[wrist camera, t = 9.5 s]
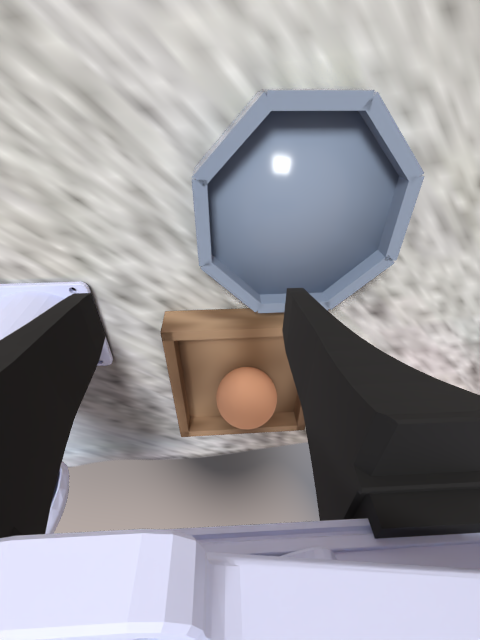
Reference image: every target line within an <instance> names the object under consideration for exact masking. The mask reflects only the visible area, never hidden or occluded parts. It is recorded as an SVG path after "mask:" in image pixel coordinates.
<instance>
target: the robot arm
mask: <svg viewBox="0 0 480 640" xmlns="http://www.w3.org/2000/svg"><path fill="white" fill-rule="evenodd" d="M71 287H73V288H75V289H76V290H77V291H74V290H72V288H71ZM282 332H283V339H284V345H285V351H286V355H287V359H288V362H289V366H290V369H291V373H292V376H293V379H294V383H295V386H296V389H297V393H298V396H299V399H300V403H301V407H302V411H303V416H304V421H305V427H306V432H307V438H308V444H309V449H310V455H311V461H312V467H313V474H314V481H315V487H316V494H317V502H318V508H319V517H320V521H309V522H291V523H274V524H254V525H235V526H218V527H199V528H180V529H132V530H113V531H94V532H77V533H76V532H75V533H57V534H53V533H54V531H55V529H56V527H57V525H58V523H59V521H60V519H61V516H62V514H63V511H64V508H65V505H66V502H67V498H68V492H69V470H68V467H67V465H66V464H65V463H64V462H63V461H62V459H63V455H64V451H65V447H66V444H67V441H68V438H69V434H70V431H71V428H72V424H73V421H74V419H75V416H76V413H77V411H78V408H79V406H80V404H81V401H82V399H83V397H84V395H85V392H86V390H87V388H88V385H89V383H90V381H91V378H92V376H93V374H94V371H95V369H96V367H97V366H103V365H110V364H112V361H113V357H112V354H111V351H110V348H109V345H108V342H107V339H106V335H105V332H104V330H103V327H102V324H101V321H100V318H99V315H98V312H97V309H96V306H95V303H94V301H93V298H92V295H91V292H90V289H89V287H88V285H87V284H86V283H84V282H53V283H20V284H0V640H480V395H477V394H475V393H472V392H469V391H467V390H464V389H461V388H459V387H456V386H454V385H451V384H448V383H446V382H443V381H441V380H438V379H436V378H434V377H432V376H429V375H427V374H425V373H423V372H420V371H418V370H416V369H414V368H412V367H410V366H408V365H406V364H404V363H402V362H400V361H399V360H397V359H395V358H393V357H391V356H389V355H388V354H386V353H384V352H382V351H381V350H379V349H377V348H376V347H374V346H373V345H371V344H370V343H368V342H367V341H365V340H364V339H362V338H361V337H359V336H358V335H357V334H355V333H354V332H353V331H351V330H350V329H349V328H347V327H346V326H345V325H344V324H342V323H341V322H340V321H339V320H337V319H336V318H335V317H334V316H333V315H332V314H331V313H329V312H328V311H327V310H326V309H325V308H324V307H323V306H322V305H321V304H320V303H319V302H318V301H317V300H315V299H314V298H313V297H312V296H311V295H310V294H309V293H308V292H307V291H306V290H305V289H304V288H287V292H286V301H285V310H284V319H283V328H282ZM100 360H102V361H100Z"/></svg>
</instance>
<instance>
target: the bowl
mask: <svg viewBox="0 0 480 640" xmlns="http://www.w3.org/2000/svg"><path fill="white" fill-rule="evenodd" d="M374 91H375V90H361V89H262V92H261V91H258V92H257V93H256V95H255V96H254V97H253V98H252V99H251V101H250V102H249V103H248V104H247V105H246V107H245V108H244V109H243V110H242V111H241V113H240V114H239V115H238V116H237V117H236V119H235V120H234V121H233V122H232V123H231V125H230V126H229V127H228V128H227V129H226V131H225V132H224V133H223V134H222V135H221V137H220V138H219V139H218V140H217V141H216V143H215V144H214V145H213V146H212V147H211V149H210V150H209V151H208V152H207V153H206V155H205V156H204V157H203V158H202V159H201V161H200V162H199V163H198V164H197V165H196V167H195V169H194V172H193V177H192V189H193V200H194V212H195V223H196V235H197V247H198V258H199V266H201V269H202V270H203V271H204V272H205V273H207V274H208V275H209V276H210V277H212V278H213V279H214V280H215V281H217V282H218V283H219V284H220V285H222V286H223V287H224V288H225V289H227V290H228V291H229V292H230V293H232V294H233V295H234V296H235V297H237V298H238V299H239V300H240V301H242V302H243V303H244V304H245V305H247V306H248V307H249V308H250V309H252V310H253V311H254V312H258V313H278V312H284V310H285V301H286V292H287V288H304V289H305V290H306V291H307V292H308V293H309V294H310V295H311V296H312V297H313V298H314V299H315V300H317V301H318V302H319V303H320V304H321V305H322V306H323V307H324V308H325V309H326V310H327V311H328V309H332V308H334V307H335V306H337V305H338V304H339V303H341V302H342V301H343V300H345V299H346V298H347V297H349V296H350V295H352V294H353V293H354V292H356V291H357V290H358V289H360V288H361V287H362V286H364V285H365V284H366V283H368V282H369V281H371V280H372V279H373V278H375V277H376V276H377V275H379V274H380V273H381V272H383V271H384V270H386V269H387V268H388V267H390V266H391V265H392V264H394V261H393V260H397V257H398V254H399V251H400V248H401V245H402V242H403V239H404V236H405V233H406V230H407V227H408V224H409V221H410V218H411V215H412V212H413V209H414V206H415V203H416V200H417V197H418V194H419V191H420V188H421V185H422V182H423V179H424V176H422V174H424V172H423V170H422V168H421V167H420V165H419V163H418V161H417V160H416V158H415V156H414V154H413V153H412V151H411V149H410V147H409V146H408V144H407V142H406V140H405V139H404V137H403V135H402V133H401V132H400V130H399V128H398V126H397V125H396V123H395V121H394V119H393V118H392V116H391V114H390V112H389V111H388V109H387V107H386V106H385V104H384V102H383V100H382V99H381V97H380V95H379V93H378V92H374Z"/></svg>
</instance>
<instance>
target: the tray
mask: <svg viewBox="0 0 480 640" xmlns="http://www.w3.org/2000/svg"><path fill="white" fill-rule="evenodd" d="M283 319H284V312H278V313H258V312H254V311H253V310H252V309H250V308H246V309H218V310H190V311H165V315H164V319H163V324H162V328H161V337H162V342H163V347H164V352H165V358H166V363H167V368H168V373H169V378H170V383H171V388H172V393H173V398H174V403H175V408H176V413H177V418H178V423H179V428H180V434H181V437H190V436H207V435H225V434H243V433H260V432H278V431H296V430H304V429H305V421H304V416H303V411H302V407H301V403H300V399H299V396H298V393H297V389H296V386H295V383H294V379H293V376H292V373H291V369H290V366H289V362H288V359H287V355H286V351H285V345H284V339H283V332H282V328H283ZM240 367H253V368H257V369H259V370H261V371H263V372H264V373H265V374H267V375H268V376H269V377H270V379H271V380H272V382H273V383H274V385H275V388H276V392H277V405H276V408H275V411H274V413H273V415H272V417H271V418H270V419H269V420H268V421H267V422H266V423H265V424H263V425H262V426H260V427H258V428H255V429H248V430H247V429H239V428H236V427H234V426H232V425H230V424H229V423H228V422H227V421H225V419H224V418H223V417H222V416H221V414H220V412H219V410H218V407H217V401H216V394H217V389H218V386H219V384H220V382H221V380H222V379H223V378H224V377H225V376H226V375H227V374H228V373H229V372H231V371H232V370H234V369H237V368H240Z"/></svg>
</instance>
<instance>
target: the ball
mask: <svg viewBox="0 0 480 640" xmlns="http://www.w3.org/2000/svg"><path fill="white" fill-rule="evenodd" d="M216 401H217V407H218V410H219V412H220V414H221V416H222V417H223V418H224V419H225V421H227V422H228V423H229V424H230V425H232V426H234V427H236V428H239V429H247V430H248V429H255V428H258V427H260V426H262V425H263V424H265V423H266V422H267V421H268V420H269V419H270V418H271V417H272V415H273V413H274V411H275V408H276V405H277V392H276V388H275V385H274V383H273V382H272V380H271V379H270V377H269V376H268V375H267V374H265V373H264V372H263V371H261V370H259V369H257V368H253V367H240V368H237V369H234V370H232V371H231V372H229V373H228V374H227V375H226V376H225V377H224V378H223V379H222V380H221V382H220V384H219V386H218V389H217V394H216Z"/></svg>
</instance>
